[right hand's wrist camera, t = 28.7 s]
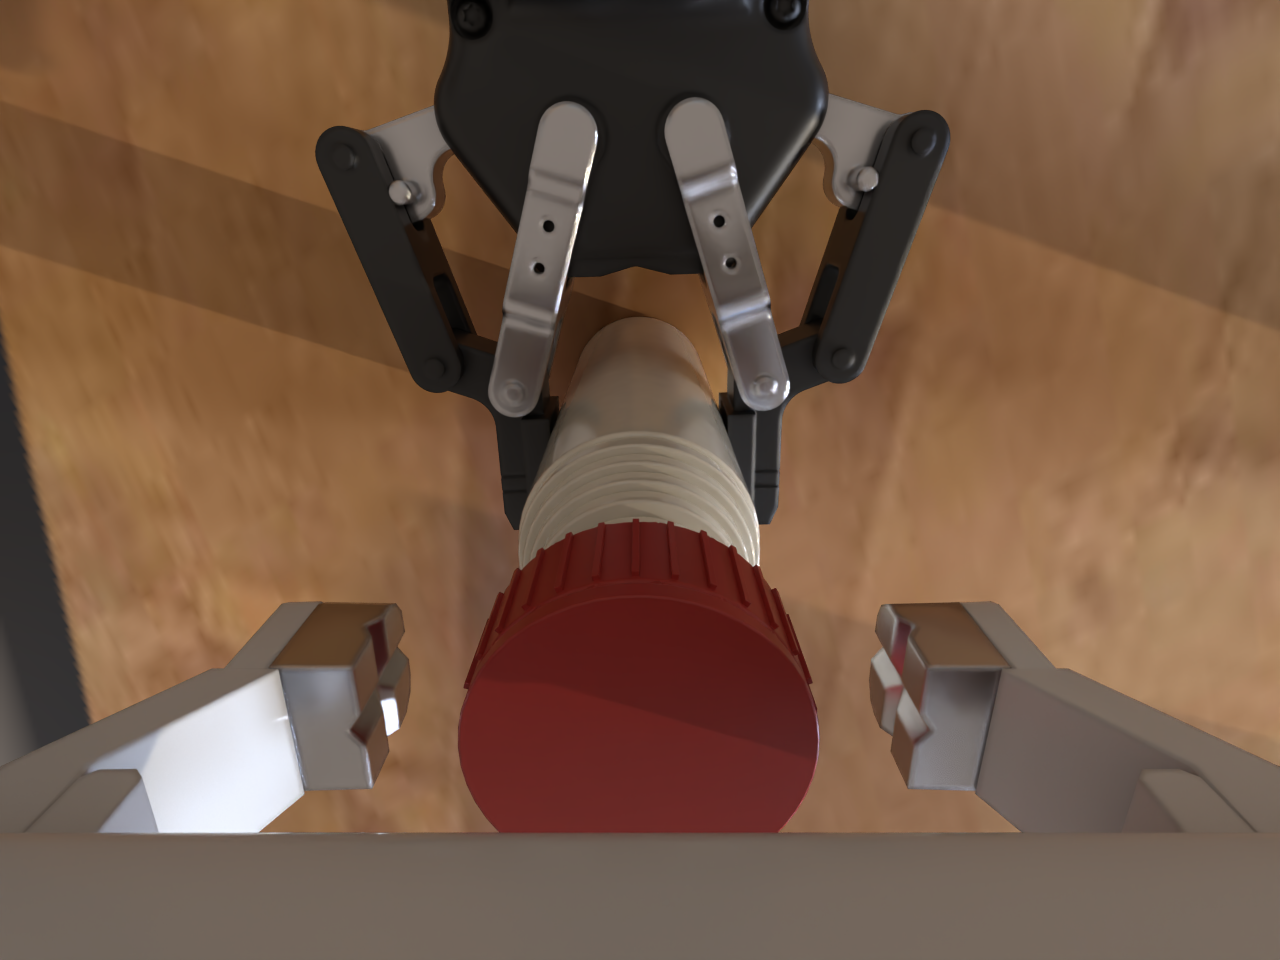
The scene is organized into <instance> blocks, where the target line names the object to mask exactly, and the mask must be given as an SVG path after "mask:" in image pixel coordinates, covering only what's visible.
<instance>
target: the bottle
mask: <svg viewBox="0 0 1280 960" xmlns="http://www.w3.org/2000/svg"><path fill="white" fill-rule="evenodd" d="M633 519H639V522H657V523H659V522H661V523H665V524H667V521H671V522H674V526H678V527H683V528H687V529H690V530H692V531H695V532H698V533H700V531H701V530H703V531H706V532H707V535H708V536H709V537H712V538H714V539H715V540H717V541H719V542H721V543H723V544H724V545H726V546H727V547H729V546H730V545H733V546H735V547H736V549H737V553H738V554H739V555H741V556H742V557H743V558H744V559H745V560H746V561H747V562H749V563H750V564H751V565H752V566H755V565H756V564H757V565H758V566H759V561H760V533H759V523H758V519H757V514H756V510H755V507H754V504H753V502H752V499H751V496H750V494H749V491H748V488H747V485H746V483H745V480H744V477H743V475H742V472H741V469H740V466H739V464H738V461H737V458H736V456H735V453H734V450H733V447H732V445H731V442H730V439H729V437H728V434H727V431H726V428H725V426H724V423H723V420H722V418H721V415H720V412H719V409H718V407H717V404H716V401H715V399H714V396H713V393H712V390H711V388H710V385H709V382H708V380H707V377H706V374H705V371H704V369H703V366H702V363H701V361H700V358H699V356H698V353H697V351H696V349H695V348H694V346H693V344H692V343H691V342H690V341H689V339H688V338H687V337H686V336H685V335H684V334H683V333H682V332H681V331H679V330H678V329H677V328H675V327H674V326H672V325H670V324H668V323H666V322H664V321H661V320H658V319H654V318H648V317H631V318H625V319H621V320H618V321H615V322H613V323H611V324H609V325H607V326H606V327H604V328H602V329H601V330H600V331H599V332H597V333H596V334H595V335H594V336H593V337H592V338H591V339H590V341H589V342H588V343H587V345H586V346H585V348H584V350H583V352H582V353H581V356H580V359H579V361H578V364H577V367H576V369H575V372H574V375H573V377H572V380H571V383H570V385H569V388H568V391H567V393H566V396H565V399H564V401H563V404H562V407H561V409H560V412H559V415H558V417H557V420H556V423H555V425H554V428H553V431H552V434H551V436H550V439H549V442H548V444H547V447H546V450H545V452H544V455H543V458H542V460H541V463H540V466H539V468H538V471H537V474H536V476H535V479H534V482H533V484H532V487H531V490H530V492H529V495H528V498H527V500H526V503H525V506H524V509H523V511H522V516H521V520H520V525H519V539H518V541H519V548H518V556H519V567H520V570H522V569H523V568H524V567H525V566H526V565H527V564H528V563H529V562H530V561H531V560H532V559H534V558H535V557H536V554H537V550H539V549H540V548H543V549H544V550H545V549H547V548H549V547H550V546H551V545H554V544H555V543H556V542H559V541H561V540H563V539H565V536H566V534H567V533H569V532H572V534H573V535H574V534H577V533H579V532H582V531H585V530H588V529H592V528H595V527H597V526H598V523H601V522H605V524H616V523H623V522H633Z"/></svg>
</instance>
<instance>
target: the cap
mask: <svg viewBox="0 0 1280 960" xmlns="http://www.w3.org/2000/svg"><path fill="white" fill-rule="evenodd" d="M809 684H812V679H811V676H810V673H809V671H808V668H807V665H806V662H805V659H804V656H803V654H802V651H801V648H800V645H799V642H798V640H797V637H796V634H795V631H794V628H793V626H792V623H791V620H790V617H789V614H787V615H786V613H785V610H784V607H783V604H782V601H781V598H780V595H779V592H778V591H777V589H776V588H774V589H772V590H771V588H770V586H769V585H768V583H767V582H766V581H765V579H764V578H763V575H762V572H761V569H760V567H759V566H758V565H757V564H756V565H755V566H752V565H751V564H750V563H749V562H747V561H746V560H745V559H744V558H743V557H742V556H741V555H739V554H738V553H737V549H736V547H735V546H733V545H730V546H729V547H727V546H726V545H724V544H723V543H721V542H719V541H717V540H715V539H714V538H712V537H709V536H708V535H707V532H706V531H703V530H701V531H700V533H698V532H695V531H692V530H690V529H687V528H683V527H678V526H674V522H671V521H667V524H665V523H661V522H659V523H657V522H639V519H633V522H623V523H616V524H605V522H601V523H598V526H597V527H595V528H592V529H588V530H585V531H582V532H579V533H577V534H574V535H573V534H572V532H569V533H567V534H566V536H565V539H563V540H561V541H559V542H556V543H555V544H554V545H551V546H550V547H549V548H547V549H545V550H544V549H543V548H540V549H539V550H537V554H536V557H535V558H534V559H532V560H531V561H530V562H529V563H528V564H527V565H526V566H525V567H524V568H523V569H522V570H520V569H519V568H517V569H516V570H515V571H514V574H513V577H512V580H511V582H510V585H509V586H508V587H507V589H506V590H505V592H504V594H503V593H501V592H499V594H498V595H497V598H496V601H495V603H494V606H493V609H492V612H491V615H490V617H489V619H488V620H487V623H486V625H485V628H484V631H483V634H482V637H481V639H480V642H479V645H478V648H477V650H476V653H475V656H474V659H473V662H472V664H471V667H470V670H469V673H468V675H467V678H466V681H465V684H464V688H465V689H468V692H467V694H466V697H465V700H464V703H463V706H462V709H461V713H460V720H459V726H458V751H459V757H460V764H461V768H462V771H463V774H464V778H465V781H466V784H467V786H468V788H469V790H470V792H471V794H472V797H473V799H474V801H475V802H476V804H477V805H478V807H479V808H480V810H481V811H482V813H483V814H484V816H485V817H486V818H487V819H488V821H489V822H490V823H491V824H492V825H493V826H494V827H495V828H496V829H497V831H498V832H499V833H778V832H779V831H780V830H781V829H782V828H783V827H784V826H785V825H786V824H787V822H788V821H789V820H790V819H791V817H792V816H793V815H794V814H795V812H796V811H797V809H798V808H799V806H800V804H801V803H802V801H803V799H804V798H805V796H806V794H807V792H808V789H809V787H810V784H811V782H812V779H813V777H814V773H815V769H816V765H817V760H818V755H819V741H820V735H819V724H818V717H817V707H816V704H815V701H814V698H813V695H812V692H811V689H810V687H809Z"/></svg>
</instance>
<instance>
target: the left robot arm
mask: <svg viewBox="0 0 1280 960" xmlns="http://www.w3.org/2000/svg"><path fill="white" fill-rule="evenodd" d="M447 5H448V14H449V25H450V37H449V46H448V52H447V57H446V61H445V64H444V67H443V70H442V72H441V75H440V77H439V79H438V82H437V85H436V89H435V95H434V105H433V106H431V107H428V108H425V109H423V110H420V111H417V112H415V113H412V114H409V115H407V116H404V117H401V118H399V119H396V120H393V121H391V122H388V123H385V124H383V125H380V126H377V127H375V128H372V129H369V130H366V131H362V130H358V129H354V128H350V127H345V126H335V127H331V128H329V129H327V130H326V131H324V132H323V133H322V134H321V136H320V137H319V139H318V141H317V144H316V150H315V154H316V161H317V164H318V167H319V169H320V171H321V173H322V176H323V178H324V180H325V182H326V185H327V187H328V189H329V191H330V194H331V196H332V198H333V200H334V203H335V205H336V207H337V209H338V212H339V214H340V216H341V218H342V221H343V223H344V225H345V227H346V230H347V232H348V234H349V236H350V239H351V241H352V243H353V245H354V248H355V250H356V252H357V254H358V257H359V259H360V261H361V263H362V266H363V268H364V270H365V272H366V275H367V277H368V279H369V281H370V284H371V286H372V288H373V290H374V293H375V295H376V297H377V299H378V302H379V304H380V306H381V308H382V311H383V313H384V315H385V317H386V320H387V322H388V324H389V326H390V329H391V331H392V333H393V335H394V338H395V340H396V342H397V344H398V347H399V349H400V351H401V353H402V356H403V358H404V360H405V362H406V365H407V367H408V369H409V371H410V374H411V376H412V378H413V379H414V381H415V382H416V383H417V384H418V385H419V386H420V387H421V388H423V389H424V390H427V391H429V392H434V393H442V392H446V391H451V392H454V393H457V394H460V395H463V396H467V397H470V398H473V399H475V400H477V401H479V402H481V403H482V404H483V405H485V406H486V407H487V408H488V409H489V411H490V412H491V414H492V416H493V417H494V420H495V424H496V431H497V441H498V451H499V461H500V471H501V476H502V478H501V481H502V490H503V500H504V510H505V514H506V516H507V518H508V520H509V521H510V523H511V525H512V527H513V529H514V530H519V525H520V520H521V516H522V511H523V509H524V506H525V503H526V500H527V498H528V495H529V492H530V490H531V487H532V484H533V482H534V479H535V476H536V474H537V471H538V468H539V466H540V463H541V460H542V458H543V455H544V452H545V450H546V447H547V444H548V442H549V439H550V436H551V434H552V431H553V428H554V425H555V423H556V420H557V417H558V415H559V398H558V396H550V393H549V377H550V374H551V369H552V365H553V361H554V357H555V353H556V349H557V345H558V340H559V336H560V332H561V328H562V324H563V320H564V316H565V313H566V310H567V306H568V303H569V299H570V295H571V291H572V287H573V283H574V279H575V277H597V276H604V275H607V274H610V273H613V272H617V271H620V270H623V269H626V268H630V267H633V266H638V267H642V268H646V269H650V270H654V271H658V272H663V273H667V274H698V275H699V279H700V282H701V285H702V288H703V292H704V295H705V298H706V301H707V304H708V307H709V309H710V312H711V315H712V319H713V322H714V325H715V329H716V332H717V335H718V338H719V342H720V345H721V348H722V352H723V355H724V358H725V362H726V365H727V368H728V377H727V392H724V393H719V412H720V415H721V418H722V420H723V423H724V426H725V428H726V431H727V434H728V437H729V439H730V442H731V445H732V447H733V450H734V453H735V456H736V458H737V461H738V464H739V466H740V469H741V472H742V475H743V477H744V480H745V483H746V485H747V488H748V491H749V494H750V496H751V499H752V502H753V504H754V507H755V510H756V514H757V519H758V523H759V524H770V522H771V520H772V518H773V516H774V514H775V512H776V510H777V508H778V497H779V474H780V472H779V469H780V451H781V428H782V415H783V412H784V409H785V407H786V405H787V404H788V402H789V401H790V400H791V399H792V398H793V397H794V396H795V395H796V394H798V393H800V392H802V391H804V390H806V389H809V388H812V387H814V386H817V385H820V384H822V383H825V382H828V381H829V382H832V383H846V382H849V381H851V380H853V379H855V378H856V377H858V376H859V375H860V374H861V372H862V371H863V369H864V368H865V365H866V363H867V360H868V358H869V355H870V352H871V350H872V347H873V345H874V342H875V339H876V337H877V334H878V332H879V329H880V326H881V324H882V321H883V318H884V316H885V313H886V311H887V308H888V305H889V303H890V300H891V297H892V295H893V292H894V290H895V287H896V284H897V282H898V279H899V276H900V274H901V271H902V269H903V266H904V263H905V261H906V258H907V256H908V253H909V250H910V248H911V245H912V242H913V240H914V237H915V235H916V232H917V229H918V227H919V224H920V221H921V219H922V216H923V214H924V211H925V208H926V206H927V203H928V201H929V198H930V195H931V193H932V190H933V187H934V185H935V182H936V180H937V177H938V174H939V172H940V169H941V166H942V164H943V161H944V159H945V156H946V153H947V151H948V148H949V144H950V130H949V127H948V124H947V123H946V121H945V119H944V118H943V117H942V116H941V115H939V114H938V113H936V112H934V111H930V110H921V111H917V112H910V113H906V114H901V115H899V114H894V113H891V112H888V111H885V110H881V109H878V108H875V107H872V106H868V105H865V104H862V103H859V102H855V101H852V100H849V99H846V98H842V97H839V96H836V95H833V94H829V91H828V83H827V79H826V75H825V72H824V70H823V68H822V66H821V64H820V62H819V60H818V57H817V55H816V52H815V50H814V47H813V43H812V39H811V34H810V29H809V18H808V6H809V0H447ZM811 143H812V144H814V145H815V146H816V147H817V148H818V149H819V150H820V152H821V153H822V155H823V158H824V162H825V172H824V178H823V189H824V193H825V195H826V197H827V198H828V200H829V201H830V202H831V203H832V204H834V205H836V206H838V207H840V209H839V212H838V214H837V217H836V220H835V223H834V226H833V229H832V232H831V235H830V238H829V241H828V244H827V247H826V250H825V253H824V255H823V258H822V261H821V264H820V267H819V270H818V273H817V276H816V279H815V282H814V285H813V288H812V291H811V293H810V296H809V299H808V302H807V305H806V308H805V311H804V314H803V317H802V320H801V323H800V326H799V327H796V328H794V329H791V330H789V331H786V332H784V333H781V334H778V335H777V332H776V329H775V325H774V321H773V318H772V314H771V303H770V297H769V293H768V289H767V285H766V281H765V278H764V274H763V270H762V267H761V263H760V259H759V256H758V252H757V248H756V245H755V241H754V237H753V234H752V230H751V228H752V227H753V225H754V224H755V222H756V221H757V220H758V218H759V217H760V215H761V214H762V212H763V211H764V210H765V208H766V207H767V205H768V204H769V202H770V201H771V200H772V198H773V197H774V195H775V194H776V192H777V191H778V190H779V188H780V187H781V185H782V184H783V182H784V181H785V180H786V178H787V177H788V175H789V174H790V172H791V171H792V170H793V168H794V167H795V165H796V164H797V162H798V161H799V160H800V158H801V157H802V155H803V154H804V152H805V151H806V150H807V148H808V147H809V145H810V144H811ZM453 154H455V155H456V157H457V158H458V159H459V160H460V162H461V163H462V164H463V166H464V167H465V168H466V169H467V171H468V172H469V173H470V174H471V176H472V177H473V178H474V180H475V181H476V182H477V183H478V185H479V186H480V187H481V188H482V190H483V191H484V192H485V194H486V195H487V196H488V197H489V199H490V200H491V201H492V202H493V204H494V205H495V206H496V208H497V209H498V210H499V211H500V213H501V214H502V215H503V216H504V218H505V219H506V220H507V222H508V223H509V224H510V225H511V227H512V228H513V229H514V230H515V232H516V233H517V234H518V235H517V239H516V244H515V249H514V254H513V258H512V263H511V268H510V273H509V277H508V282H507V287H506V292H505V296H504V302H503V310H502V313H503V320H502V326H501V330H500V335H499V340H498V342H496V341H493V340H490V339H487V338H484V337H481V336H477V333H476V331H475V329H474V326H473V324H472V321H471V319H470V316H469V314H468V311H467V309H466V306H465V304H464V301H463V299H462V296H461V294H460V291H459V289H458V286H457V284H456V281H455V279H454V277H453V274H452V272H451V269H450V267H449V264H448V262H447V259H446V257H445V254H444V252H443V249H442V247H441V244H440V242H439V239H438V237H437V234H436V232H435V229H434V227H433V225H432V222H431V220H430V219H431V218H433V217H435V216H436V215H438V213H439V212H440V211H441V210H442V208H443V206H444V203H445V189H444V185H443V178H442V175H443V169H444V166H445V163H446V162H447V160H448V159H449V158H450V157H451V156H452V155H453Z"/></svg>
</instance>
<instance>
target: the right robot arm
mask: <svg viewBox="0 0 1280 960" xmlns="http://www.w3.org/2000/svg"><path fill="white" fill-rule="evenodd" d="M404 632H405V629H404V623H403V617H402V611H401V609H400V608H399V607H398V605H397V604H396V603H349V602H325V603H323V602H321V601H316V602H288V603H283V604H281V605H280V606H279V607H278V608H277V610H276V611H275V612H274V613H273V614H272V615H271V616H270V617H269V618H268V620H267V621H266V622H265V623H264V624H263V625H262V626H261V627H260V629H259V630H258V631H257V632H256V633H255V634H254V635H253V636H252V638H251V639H250V640H249V641H248V642H247V643H246V644H245V645H244V647H243V648H242V649H241V650H240V651H239V652H238V653H237V654H236V656H235V657H234V658H233V659H232V660H231V661H230V662H229V663H228V664H227V666H226V667H225V668H224V669H210V670H208V671H206V672H203V673H201V674H199V675H197V676H195V677H193V678H191V679H188V680H186V681H184V682H182V683H180V684H178V685H175V686H173V687H171V688H169V689H167V690H165V691H162V692H160V693H158V694H156V695H154V696H152V697H149V698H147V699H145V700H143V701H141V702H139V703H137V704H134V705H132V706H130V707H128V708H126V709H124V710H121V711H119V712H117V713H115V714H113V715H111V716H108V717H106V718H104V719H102V720H100V721H98V722H95V723H93V724H91V725H89V726H87V727H85V728H83V729H80V730H78V731H76V732H74V733H72V734H70V735H67V736H65V737H63V738H61V739H59V740H57V741H54V742H52V743H50V744H48V745H46V746H44V747H42V748H39V749H37V750H35V751H33V752H31V753H29V754H26V755H24V756H22V757H20V758H18V759H16V760H13V761H11V762H9V763H7V764H5V765H3V766H1V767H0V960H1280V767H1279V766H1277V765H1275V764H1272V763H1270V762H1268V761H1266V760H1264V759H1262V758H1260V757H1257V756H1255V755H1253V754H1251V753H1249V752H1247V751H1244V750H1242V749H1240V748H1238V747H1236V746H1234V745H1232V744H1229V743H1227V742H1225V741H1223V740H1221V739H1219V738H1216V737H1214V736H1212V735H1210V734H1208V733H1206V732H1204V731H1201V730H1199V729H1197V728H1195V727H1193V726H1191V725H1188V724H1186V723H1184V722H1182V721H1180V720H1178V719H1176V718H1173V717H1171V716H1169V715H1167V714H1165V713H1163V712H1160V711H1158V710H1156V709H1154V708H1152V707H1150V706H1148V705H1145V704H1143V703H1141V702H1139V701H1137V700H1135V699H1133V698H1130V697H1128V696H1126V695H1124V694H1122V693H1120V692H1117V691H1115V690H1113V689H1111V688H1109V687H1107V686H1105V685H1102V684H1100V683H1098V682H1096V681H1094V680H1092V679H1089V678H1087V677H1085V676H1083V675H1081V674H1079V673H1077V672H1074V671H1072V670H1070V669H1056V668H1055V667H1054V666H1053V665H1052V663H1051V662H1050V661H1049V660H1048V659H1047V658H1046V657H1045V656H1044V654H1043V653H1042V652H1041V651H1040V650H1039V649H1038V648H1037V647H1036V645H1035V644H1034V643H1033V642H1032V641H1031V640H1030V639H1029V638H1028V636H1027V635H1026V634H1025V633H1024V632H1023V631H1022V630H1021V629H1020V627H1019V626H1018V625H1017V624H1016V623H1015V622H1014V621H1013V620H1012V618H1011V617H1010V616H1009V615H1008V614H1007V613H1006V612H1005V611H1004V610H1003V608H1002V607H1001V606H1000V605H999V604H996V603H994V602H991V601H983V602H951V603H910V604H885V605H881V607H880V610H879V613H878V615H877V621H876V628H875V632H876V634H877V636H878V638H879V640H880V642H881V644H882V646H883V647H882V648H881V649H880V650H879V651H878V652H877V654H876V655H875V656H874V657H873V658H872V659H871V667H870V677H869V685H870V699H871V704H872V708H873V711H874V715H875V717H876V720H877V722H878V724H879V727H880V728H881V729H883V730H884V731H886V732H887V733H889V734H890V735H891V736H893V738H892V745H891V753H892V755H893V758H894V760H895V762H896V764H897V766H898V768H899V770H900V773H901V775H902V777H903V779H904V781H905V783H906V786H907V788H908V789H933V790H970V791H976V793H975V794H976V795H978V796H979V797H980V798H981V799H982V800H984V801H985V802H986V803H987V804H988V805H990V806H991V807H992V808H993V809H994V810H996V811H997V812H998V813H999V814H1000V815H1002V816H1003V817H1004V818H1005V819H1006V820H1008V821H1009V822H1010V823H1011V824H1012V825H1014V826H1015V827H1016V828H1017V829H1019V830H1020V831H1021V832H1022V833H258V832H259V831H261V830H262V829H263V828H264V827H265V826H267V825H268V824H269V823H270V822H271V821H273V820H274V819H275V818H276V817H277V816H279V815H280V814H281V813H282V812H283V811H285V810H286V809H287V808H288V807H290V806H291V805H292V804H293V803H294V802H296V801H297V800H298V799H299V798H300V797H302V796H303V795H304V791H310V790H345V789H372V788H373V786H374V784H375V781H376V779H377V777H378V775H379V773H380V771H381V768H382V766H383V764H384V762H385V760H386V758H387V755H388V753H389V745H388V738H387V736H389V735H390V734H391V733H393V732H394V731H396V730H397V729H399V728H400V727H401V724H402V722H403V719H404V717H405V715H406V712H407V707H408V702H409V697H410V686H411V674H410V665H409V659H408V658H407V657H406V656H405V655H404V654H403V652H402V651H401V650H400V649H399V648H398V647H397V646H398V644H399V642H400V640H401V638H402V636H403V634H404Z"/></svg>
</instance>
